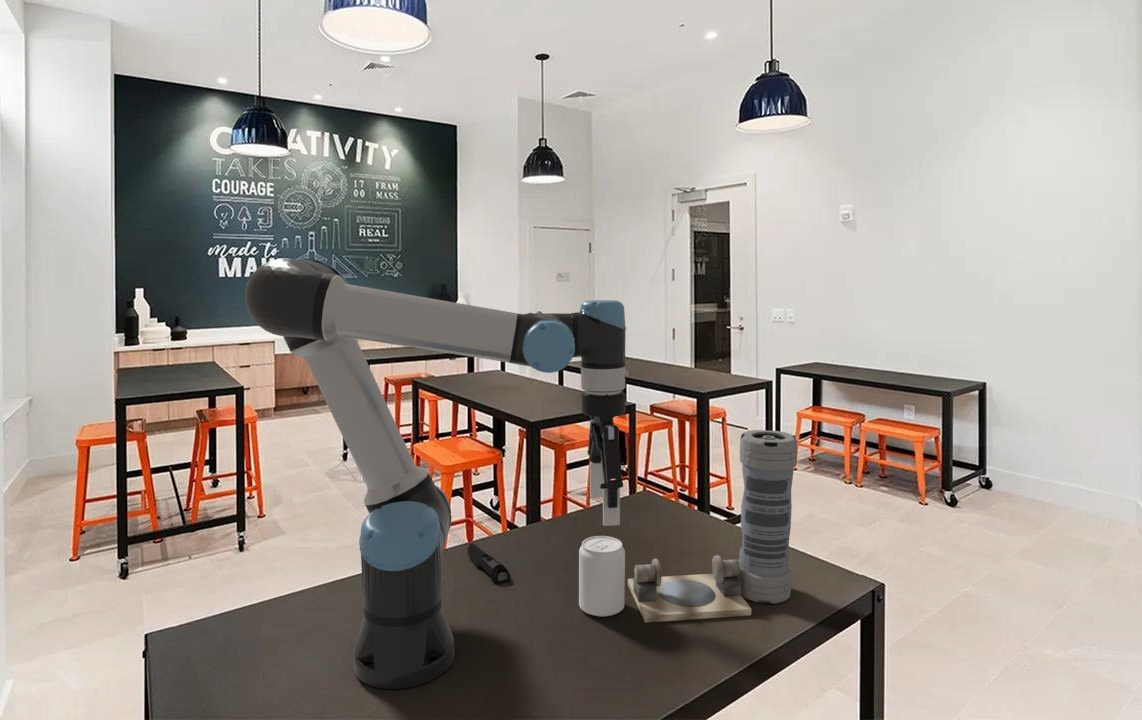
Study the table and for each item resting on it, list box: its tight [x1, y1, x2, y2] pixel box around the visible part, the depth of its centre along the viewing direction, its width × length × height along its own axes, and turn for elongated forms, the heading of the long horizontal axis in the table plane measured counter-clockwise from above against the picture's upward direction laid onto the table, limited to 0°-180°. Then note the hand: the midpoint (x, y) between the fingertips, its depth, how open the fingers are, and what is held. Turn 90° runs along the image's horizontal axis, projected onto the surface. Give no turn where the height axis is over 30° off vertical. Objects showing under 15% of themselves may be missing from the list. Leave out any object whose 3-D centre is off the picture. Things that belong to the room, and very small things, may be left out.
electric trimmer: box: [467, 542, 512, 585], centre depth 135 cm, size 4×16×3 cm, turn 31°
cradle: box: [627, 554, 752, 624], centre depth 122 cm, size 19×14×8 cm
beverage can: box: [578, 535, 626, 618], centre depth 118 cm, size 8×8×12 cm
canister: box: [737, 429, 799, 605], centre depth 123 cm, size 10×10×30 cm
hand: (604, 510), depth 117 cm, fingers open, 13 cm apart
